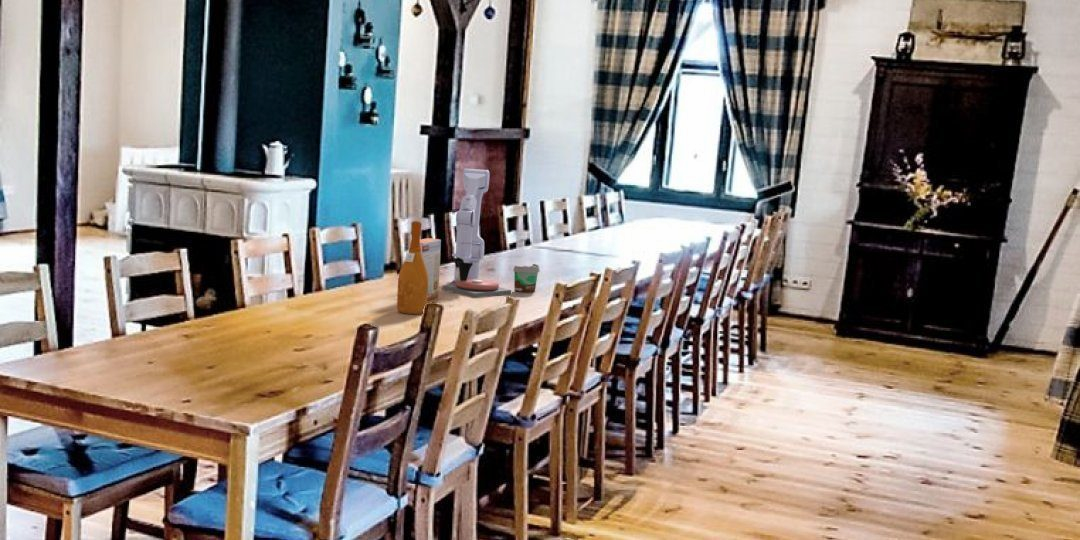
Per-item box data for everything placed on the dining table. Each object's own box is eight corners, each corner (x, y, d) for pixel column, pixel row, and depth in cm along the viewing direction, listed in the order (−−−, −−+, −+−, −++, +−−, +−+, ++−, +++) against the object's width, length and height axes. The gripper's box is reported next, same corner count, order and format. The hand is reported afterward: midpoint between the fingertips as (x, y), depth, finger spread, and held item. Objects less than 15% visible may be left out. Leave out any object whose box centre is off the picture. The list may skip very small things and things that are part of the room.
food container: (524, 294, 407) (526, 268, 405) (511, 292, 410) (513, 265, 409) (544, 291, 416) (546, 265, 415) (531, 289, 420) (533, 263, 419)
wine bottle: (392, 309, 360) (397, 219, 356) (421, 309, 364) (426, 219, 360) (401, 315, 352) (406, 222, 347) (430, 315, 356) (435, 223, 351)
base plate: (442, 289, 406) (442, 285, 405) (478, 286, 418) (479, 282, 418) (474, 297, 393) (474, 293, 393) (510, 294, 406) (511, 290, 405)
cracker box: (423, 295, 390) (427, 237, 387) (438, 297, 388) (442, 239, 385) (404, 300, 377) (408, 240, 374) (420, 303, 375) (423, 242, 372)
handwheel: (498, 284, 414) (499, 267, 413) (498, 291, 398) (499, 273, 397) (456, 281, 413) (457, 264, 412) (454, 288, 397) (455, 270, 396)
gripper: (449, 239, 407) (447, 275, 410) (456, 245, 394) (454, 282, 396) (468, 240, 409) (466, 275, 411) (475, 245, 395) (473, 282, 398)
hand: (461, 279), depth 404 cm, fingers open, 6 cm apart
